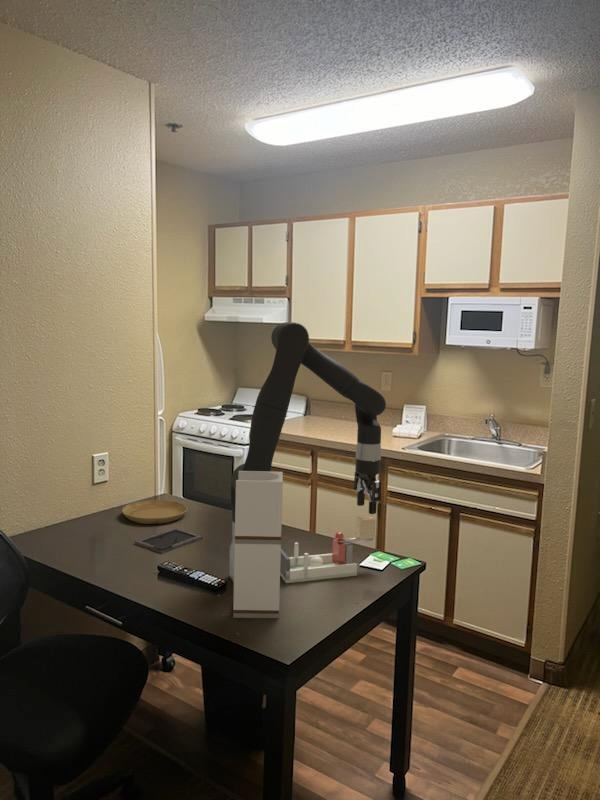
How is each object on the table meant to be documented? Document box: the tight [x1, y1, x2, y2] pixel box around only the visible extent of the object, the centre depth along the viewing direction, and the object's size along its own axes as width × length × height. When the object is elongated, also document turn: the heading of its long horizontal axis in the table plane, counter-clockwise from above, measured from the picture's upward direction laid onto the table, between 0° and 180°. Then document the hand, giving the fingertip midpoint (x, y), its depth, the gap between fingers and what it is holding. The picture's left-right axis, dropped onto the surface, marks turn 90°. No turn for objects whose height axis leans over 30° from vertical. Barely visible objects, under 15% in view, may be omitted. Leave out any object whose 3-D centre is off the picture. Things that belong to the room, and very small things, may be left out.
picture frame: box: [134, 527, 204, 554], centre depth 204 cm, size 13×2×18 cm
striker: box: [331, 515, 376, 565], centre depth 185 cm, size 12×5×14 cm, turn 109°
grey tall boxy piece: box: [232, 471, 284, 619], centre depth 156 cm, size 11×11×35 cm
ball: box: [310, 556, 323, 567], centre depth 182 cm, size 4×4×4 cm
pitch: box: [280, 542, 358, 584], centre depth 181 cm, size 22×10×8 cm, turn 109°
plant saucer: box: [121, 499, 188, 525], centre depth 231 cm, size 24×24×3 cm
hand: (366, 509), depth 185 cm, fingers open, 8 cm apart
